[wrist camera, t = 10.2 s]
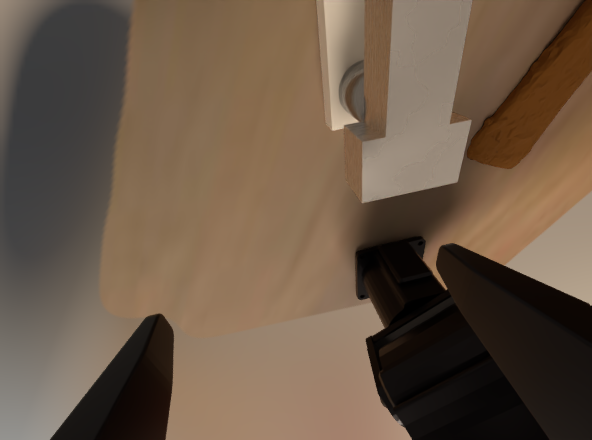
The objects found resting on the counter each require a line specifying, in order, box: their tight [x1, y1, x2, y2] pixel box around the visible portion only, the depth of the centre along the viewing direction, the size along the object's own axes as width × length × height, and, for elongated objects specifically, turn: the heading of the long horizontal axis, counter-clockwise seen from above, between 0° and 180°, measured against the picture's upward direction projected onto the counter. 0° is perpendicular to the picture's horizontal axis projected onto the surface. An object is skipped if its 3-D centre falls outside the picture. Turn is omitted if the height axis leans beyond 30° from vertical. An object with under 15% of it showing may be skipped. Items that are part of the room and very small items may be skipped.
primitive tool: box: [467, 0, 592, 169], centre depth 17 cm, size 19×6×4 cm, turn 164°
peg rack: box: [316, 0, 365, 131], centre depth 13 cm, size 12×4×5 cm, turn 8°
